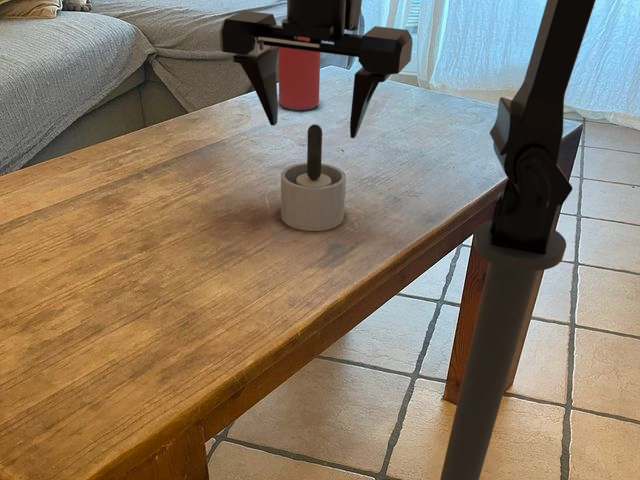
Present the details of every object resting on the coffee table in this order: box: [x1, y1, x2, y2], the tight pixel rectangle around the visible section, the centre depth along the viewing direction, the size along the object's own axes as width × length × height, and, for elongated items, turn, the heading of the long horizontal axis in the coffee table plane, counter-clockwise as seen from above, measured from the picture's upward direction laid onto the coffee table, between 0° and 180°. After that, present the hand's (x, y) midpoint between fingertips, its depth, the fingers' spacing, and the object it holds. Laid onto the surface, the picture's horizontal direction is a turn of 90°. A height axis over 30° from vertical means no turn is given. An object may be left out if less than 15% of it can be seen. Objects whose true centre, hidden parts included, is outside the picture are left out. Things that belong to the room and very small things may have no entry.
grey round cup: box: [280, 162, 347, 232], centre depth 77 cm, size 7×7×5 cm
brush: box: [296, 123, 331, 187], centre depth 75 cm, size 4×4×10 cm
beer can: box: [277, 17, 321, 111], centre depth 105 cm, size 7×7×12 cm
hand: (313, 130), depth 72 cm, fingers open, 9 cm apart
